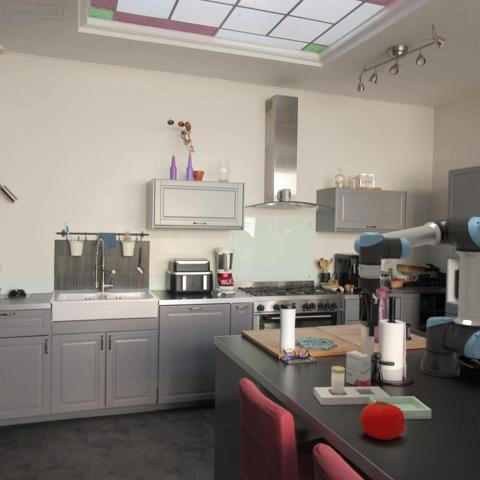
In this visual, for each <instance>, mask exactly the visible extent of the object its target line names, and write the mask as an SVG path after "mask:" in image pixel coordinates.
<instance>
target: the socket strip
mask: <svg viewBox="0 0 480 480" xmlns="http://www.w3.org/2000/svg"><path fill="white" fill-rule="evenodd" d="M330 370H331V381H330V382H331V383H330V386H328V387H327V386H325V387H324V386H323V387H320V386H319V387H318V386H317V387H315V386H314V387H313V396H314V397H315V398H316V400H317V401H318V402H319V403H320V405H321V406H331V405H333V406H334V405H335V406H338V405H369V397H391V395H389V394H388V393H387V392H386V391H384V389H382V387H380V386H368V387H359V386H345V376H346V375H345V374H346V367H344V366H341V365H333V366H331V369H330Z"/></svg>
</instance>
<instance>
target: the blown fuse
mask: <svg viewBox="0 0 480 480" xmlns="http://www.w3.org/2000/svg"><path fill="white" fill-rule="evenodd" d="M366 325H368V320H362V321H360V352H361V353H362V354H367V355H370V356H372V355H373V354H374V349H375V347H374V346H375V345H374V346H366V328H367V327H366Z"/></svg>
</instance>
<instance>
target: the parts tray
mask: <svg viewBox="0 0 480 480" xmlns="http://www.w3.org/2000/svg"><path fill="white" fill-rule="evenodd" d="M376 401H378V402H379V401H383V402H387V403H389V404H391V405H394V406H397V407H398V408H400V409H401V411H402V412H403V414H404V419H405V420H426V419H429V420H431V419H432V409H431V408H430V407H428V406H427V405H426V404H424V403H423V402H422V401H420V400H419V399H418V397H417V398H416V396H413V395H412V396H411V395H410V396H409V395H408V396H406V395H405V396H403V395H402V396H390V397H369V404H373V403H375V402H376ZM369 404H368V405H369Z"/></svg>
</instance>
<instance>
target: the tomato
mask: <svg viewBox="0 0 480 480" xmlns="http://www.w3.org/2000/svg"><path fill="white" fill-rule="evenodd" d="M405 420H406V419H404V414H403V412H402V411H401V409H400V408H398V407H397V406H394V405H391V404H389V403H387V402H383V401H379V402H378V401H376V402H375V403H373V404H366V405H365V406H364V408H363V409H362V410H361V415H360V422H361V427H362V429H363V430H364V433H365V434H367V435H368V436H369V437H371V438H373V439H377V440H385V441H386V440H392V439H393V440H394V439H397V438H398V437H400V436H401V434H403V431H404V430H405V425H406V424H405V423H406V421H405Z"/></svg>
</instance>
